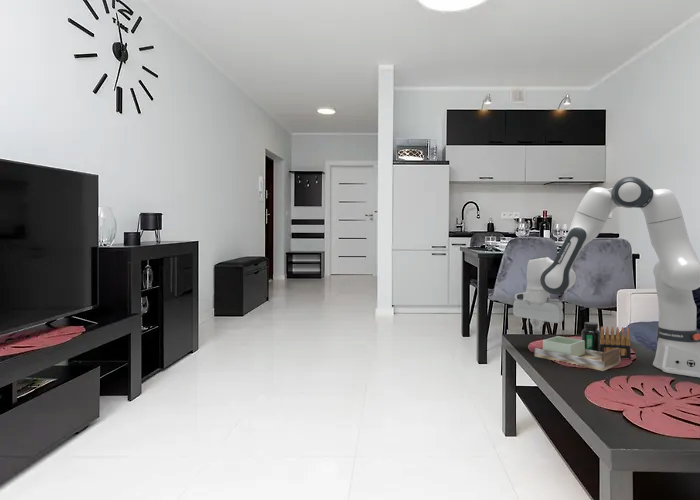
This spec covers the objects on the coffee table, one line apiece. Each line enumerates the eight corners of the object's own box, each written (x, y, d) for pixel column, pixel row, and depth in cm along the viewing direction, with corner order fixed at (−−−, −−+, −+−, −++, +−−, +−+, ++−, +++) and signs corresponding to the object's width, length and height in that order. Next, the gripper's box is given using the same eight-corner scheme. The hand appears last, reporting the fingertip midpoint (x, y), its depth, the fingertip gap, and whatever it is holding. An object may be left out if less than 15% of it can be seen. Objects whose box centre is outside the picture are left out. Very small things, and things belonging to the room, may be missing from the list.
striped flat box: (620, 363, 177) (620, 347, 176) (603, 370, 168) (603, 353, 168) (553, 350, 197) (553, 335, 197) (534, 356, 188) (534, 341, 188)
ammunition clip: (630, 358, 184) (630, 326, 183) (631, 359, 182) (631, 327, 182) (598, 355, 187) (599, 325, 187) (599, 357, 186) (599, 326, 185)
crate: (584, 353, 185) (584, 340, 185) (570, 359, 178) (570, 345, 178) (557, 348, 194) (557, 335, 194) (542, 353, 187) (542, 340, 187)
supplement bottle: (591, 356, 187) (592, 325, 187) (577, 352, 194) (577, 322, 193) (604, 354, 190) (604, 323, 189) (590, 350, 196) (590, 321, 196)
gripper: (566, 298, 187) (566, 334, 188) (519, 293, 203) (519, 325, 204) (558, 300, 183) (557, 336, 184) (511, 294, 199) (510, 327, 200)
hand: (537, 330), depth 194 cm, fingers closed
